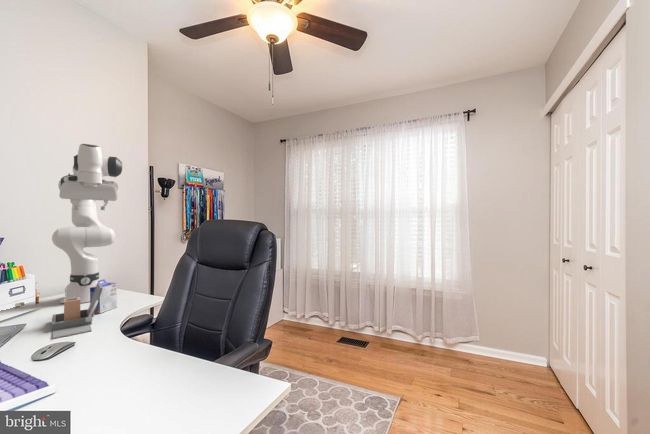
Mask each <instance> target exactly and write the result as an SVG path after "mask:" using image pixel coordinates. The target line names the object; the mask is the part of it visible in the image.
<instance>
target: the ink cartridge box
mask: <svg viewBox="0 0 650 434" xmlns="http://www.w3.org/2000/svg"><path fill="white" fill-rule="evenodd" d="M98 282H102V283H100V284H101V286H102V288H103V289H102V292H101V295H100V298H99V301H98V304H97V307H96V310H95V313H94V314H95V315H96V314H98V315H99V314H100V315H101V314H102V313H106V312H108V311H110V310H112V309H116V308H117V307H118V288H117V287H118V283H117V282H107V281H106V279H99V281H98ZM95 289H96V286H94V287H91V288H90V303H91V300H92V297H93V294H94V291H95ZM90 303H89V304H90Z"/></svg>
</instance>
